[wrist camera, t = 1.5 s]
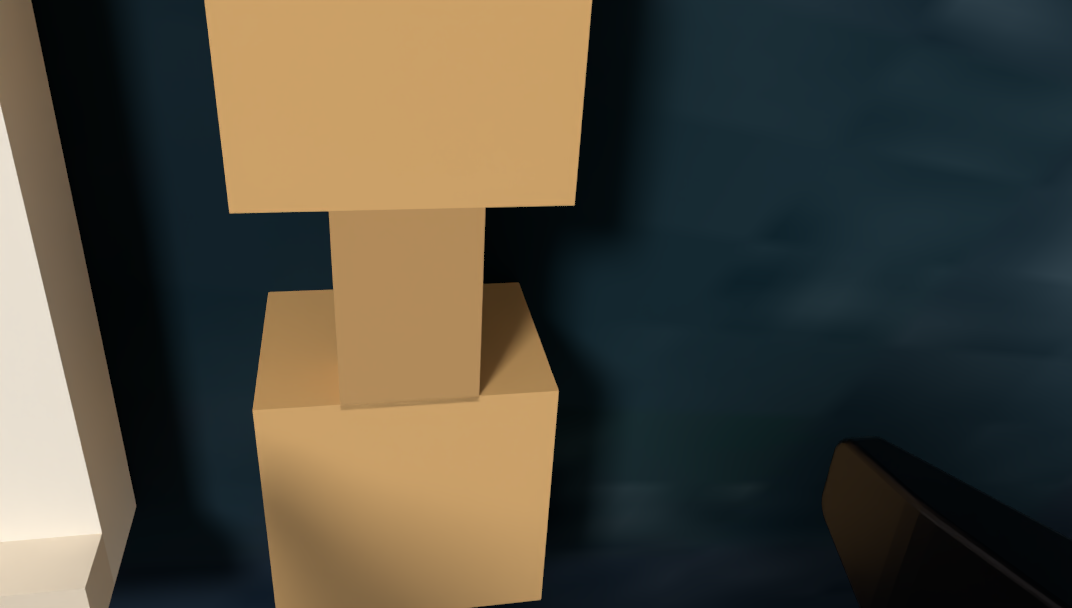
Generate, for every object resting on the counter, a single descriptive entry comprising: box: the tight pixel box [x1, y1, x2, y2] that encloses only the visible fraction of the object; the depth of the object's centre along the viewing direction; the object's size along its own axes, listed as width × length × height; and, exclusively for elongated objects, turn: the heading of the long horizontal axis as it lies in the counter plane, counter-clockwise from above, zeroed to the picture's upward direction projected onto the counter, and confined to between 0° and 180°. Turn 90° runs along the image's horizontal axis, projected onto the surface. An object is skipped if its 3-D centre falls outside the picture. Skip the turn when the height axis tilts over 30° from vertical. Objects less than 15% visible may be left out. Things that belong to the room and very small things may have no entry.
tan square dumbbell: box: [205, 0, 592, 608], centre depth 14 cm, size 4×12×4 cm, turn 176°
